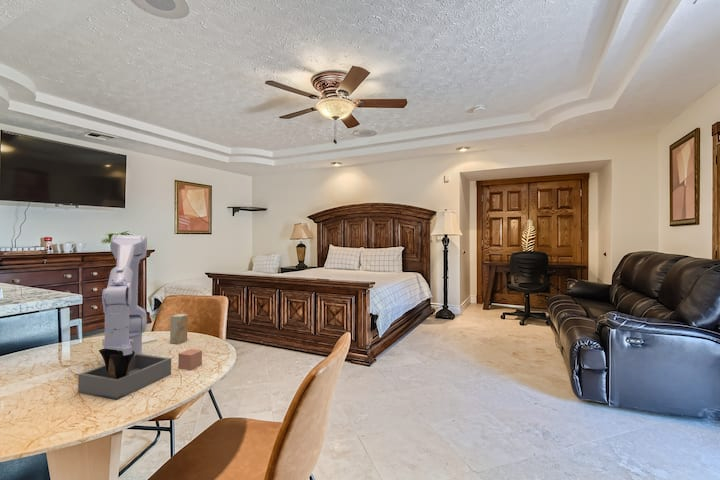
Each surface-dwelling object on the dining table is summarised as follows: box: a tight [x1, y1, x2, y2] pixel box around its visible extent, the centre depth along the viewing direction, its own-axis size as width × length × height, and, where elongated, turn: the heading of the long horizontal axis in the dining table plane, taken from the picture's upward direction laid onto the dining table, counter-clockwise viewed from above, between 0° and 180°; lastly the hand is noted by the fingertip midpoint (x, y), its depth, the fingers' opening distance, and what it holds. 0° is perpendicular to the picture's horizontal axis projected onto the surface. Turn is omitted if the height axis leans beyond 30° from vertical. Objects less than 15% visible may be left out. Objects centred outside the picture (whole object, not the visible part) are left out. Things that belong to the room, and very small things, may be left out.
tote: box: [77, 353, 172, 401], centre depth 102 cm, size 14×18×5 cm
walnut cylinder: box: [108, 358, 130, 379], centre depth 99 cm, size 5×5×7 cm
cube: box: [177, 348, 203, 371], centre depth 115 cm, size 5×5×5 cm
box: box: [169, 313, 189, 345], centre depth 141 cm, size 5×4×11 cm
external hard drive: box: [142, 335, 158, 346], centre depth 139 cm, size 2×8×12 cm
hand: (116, 374), depth 99 cm, fingers open, 5 cm apart
